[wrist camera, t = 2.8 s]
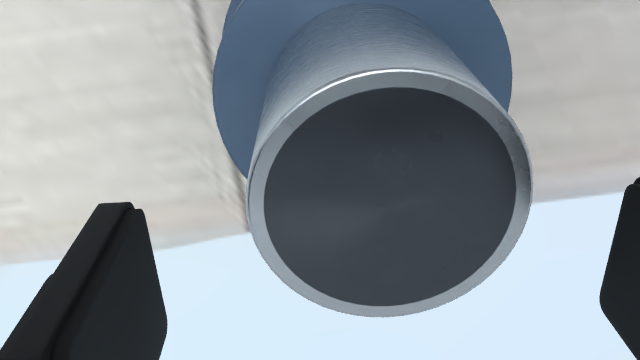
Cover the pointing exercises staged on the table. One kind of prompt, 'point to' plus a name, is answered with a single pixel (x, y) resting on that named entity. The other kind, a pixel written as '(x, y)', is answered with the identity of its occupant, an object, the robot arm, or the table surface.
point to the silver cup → (383, 167)
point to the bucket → (304, 5)
